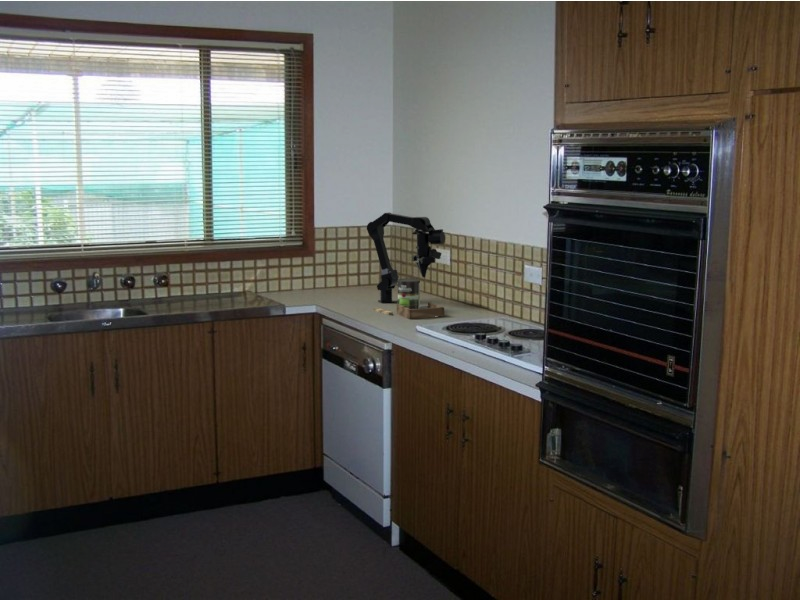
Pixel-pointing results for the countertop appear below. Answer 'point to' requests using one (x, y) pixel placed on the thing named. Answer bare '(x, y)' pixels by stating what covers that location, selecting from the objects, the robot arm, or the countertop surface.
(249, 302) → the countertop surface
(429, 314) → the walnut cubby
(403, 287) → the coffee can
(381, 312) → the oak stirring stick
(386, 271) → the robot arm
